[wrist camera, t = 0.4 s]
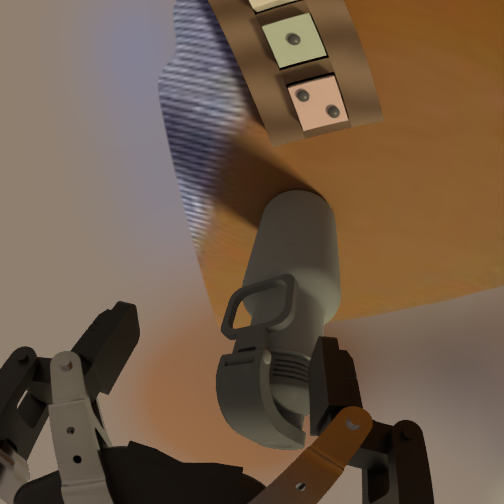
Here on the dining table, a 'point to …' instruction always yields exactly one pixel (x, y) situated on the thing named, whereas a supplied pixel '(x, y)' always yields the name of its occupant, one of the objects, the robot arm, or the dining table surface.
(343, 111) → the button two dots
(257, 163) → the dining table surface
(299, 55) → the button one dot
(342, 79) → the button panel
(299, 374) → the water bottle
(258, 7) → the button three dots
